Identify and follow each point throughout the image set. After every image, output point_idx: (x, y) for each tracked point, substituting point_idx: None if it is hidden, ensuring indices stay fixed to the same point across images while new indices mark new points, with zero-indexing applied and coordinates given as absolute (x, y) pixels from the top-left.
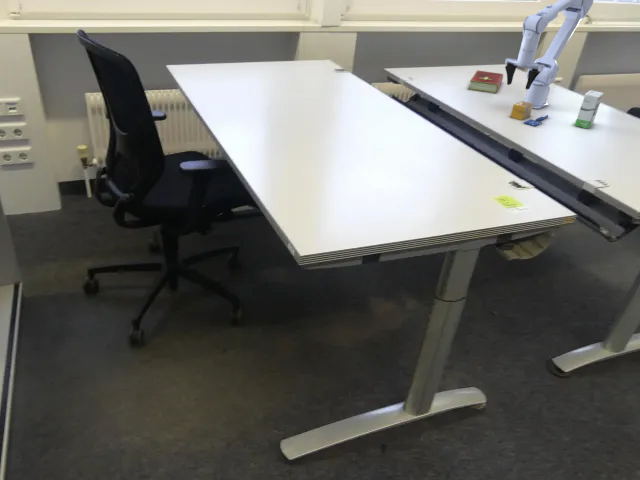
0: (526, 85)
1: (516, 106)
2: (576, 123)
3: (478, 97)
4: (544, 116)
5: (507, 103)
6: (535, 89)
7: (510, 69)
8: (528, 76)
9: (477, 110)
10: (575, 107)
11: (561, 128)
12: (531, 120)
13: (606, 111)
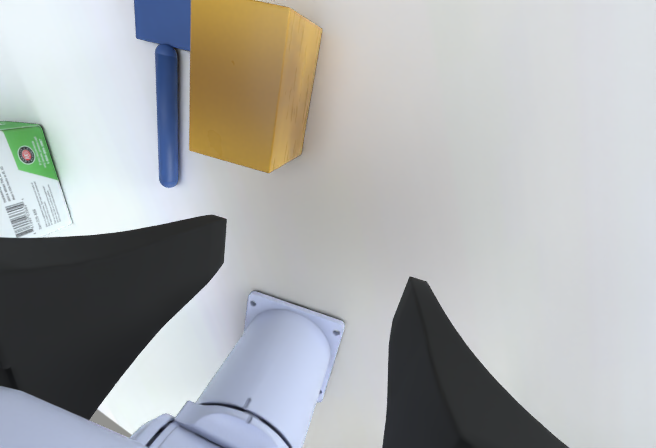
0: (200, 224)
1: (265, 3)
2: (22, 125)
3: (599, 352)
4: (158, 141)
5: None
6: (245, 380)
7: (446, 415)
8: (102, 255)
9: (597, 16)
10: (164, 383)
11: (49, 30)
12: (187, 26)
13: None
